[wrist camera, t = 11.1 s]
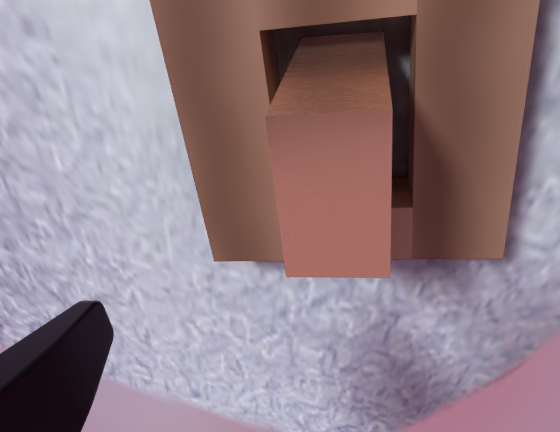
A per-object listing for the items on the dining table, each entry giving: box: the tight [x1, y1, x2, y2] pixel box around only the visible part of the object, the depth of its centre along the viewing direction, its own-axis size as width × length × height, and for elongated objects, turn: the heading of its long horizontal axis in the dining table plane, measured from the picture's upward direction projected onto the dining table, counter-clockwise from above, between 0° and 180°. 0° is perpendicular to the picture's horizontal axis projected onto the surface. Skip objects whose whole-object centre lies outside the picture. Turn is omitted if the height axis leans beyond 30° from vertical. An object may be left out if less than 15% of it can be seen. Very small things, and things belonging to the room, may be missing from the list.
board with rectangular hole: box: [150, 0, 540, 261], centre depth 18 cm, size 12×12×2 cm
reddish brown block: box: [265, 31, 393, 278], centre depth 16 cm, size 3×5×8 cm, turn 6°
